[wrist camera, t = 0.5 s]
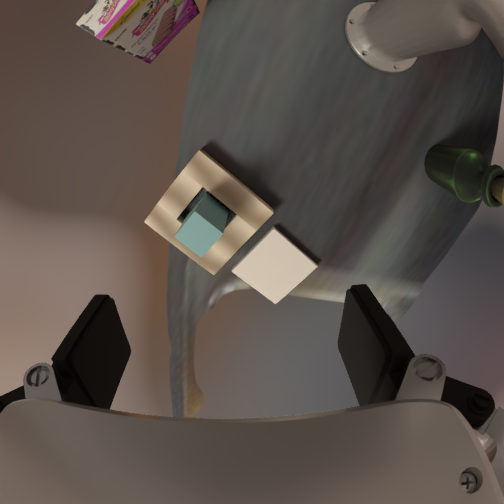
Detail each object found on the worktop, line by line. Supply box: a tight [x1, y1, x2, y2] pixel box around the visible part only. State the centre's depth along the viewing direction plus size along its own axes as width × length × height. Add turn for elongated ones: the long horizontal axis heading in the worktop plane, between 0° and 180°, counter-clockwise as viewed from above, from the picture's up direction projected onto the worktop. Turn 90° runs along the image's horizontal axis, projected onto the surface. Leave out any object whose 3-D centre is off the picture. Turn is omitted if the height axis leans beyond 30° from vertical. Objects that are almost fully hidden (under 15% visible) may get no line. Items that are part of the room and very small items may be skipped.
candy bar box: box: [76, 0, 200, 63], centre depth 23 cm, size 11×5×16 cm, turn 137°
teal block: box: [174, 193, 229, 258], centre depth 39 cm, size 4×4×9 cm
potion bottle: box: [425, 145, 504, 207], centre depth 31 cm, size 8×8×18 cm
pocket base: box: [145, 149, 274, 275], centre depth 43 cm, size 14×14×2 cm
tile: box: [232, 226, 317, 304], centre depth 47 cm, size 10×10×1 cm
